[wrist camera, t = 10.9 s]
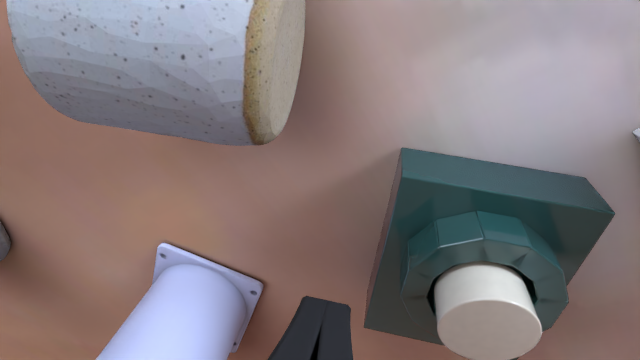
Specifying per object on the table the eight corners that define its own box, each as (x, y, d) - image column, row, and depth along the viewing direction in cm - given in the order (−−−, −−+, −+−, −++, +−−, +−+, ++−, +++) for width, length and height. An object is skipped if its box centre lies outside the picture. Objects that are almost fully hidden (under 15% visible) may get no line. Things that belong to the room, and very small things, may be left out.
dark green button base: (503, 319, 23) (526, 397, 19) (367, 290, 24) (360, 358, 20) (585, 177, 18) (643, 245, 13) (401, 146, 19) (401, 201, 14)
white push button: (507, 328, 17) (519, 370, 16) (424, 311, 18) (426, 350, 16) (541, 270, 15) (560, 312, 14) (446, 252, 16) (452, 289, 14)
